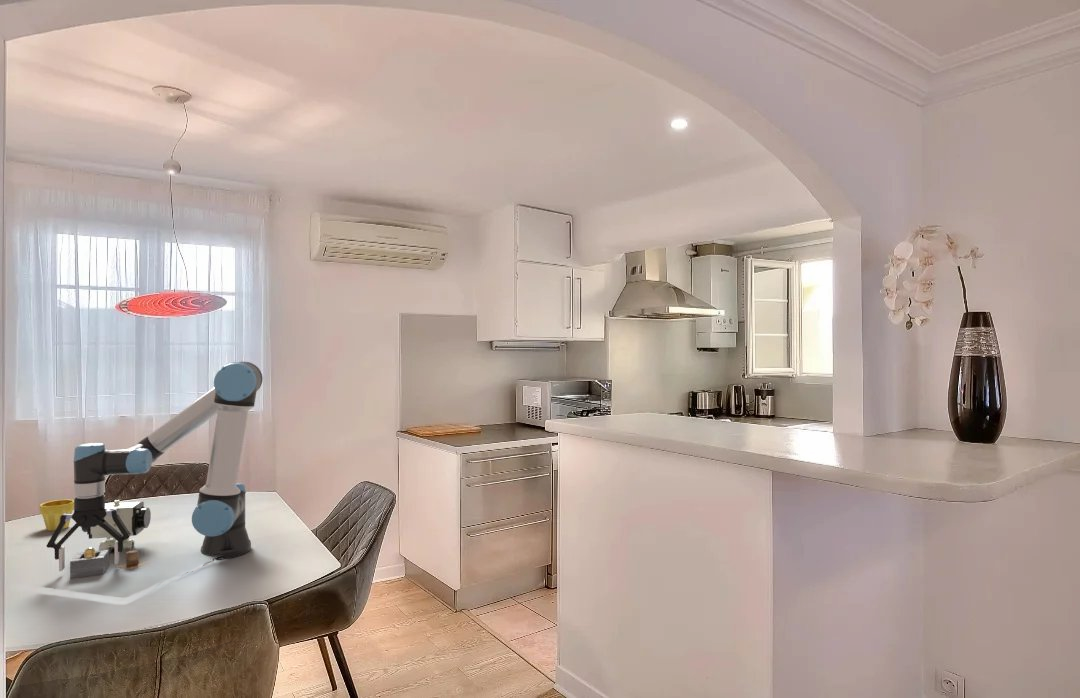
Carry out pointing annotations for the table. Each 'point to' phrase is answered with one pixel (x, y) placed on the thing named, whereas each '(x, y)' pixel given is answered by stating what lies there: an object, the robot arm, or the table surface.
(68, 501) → the plant pot
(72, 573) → the grey square box
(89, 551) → the door knob
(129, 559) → the brown knob on base
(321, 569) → the table surface
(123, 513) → the ball valve
